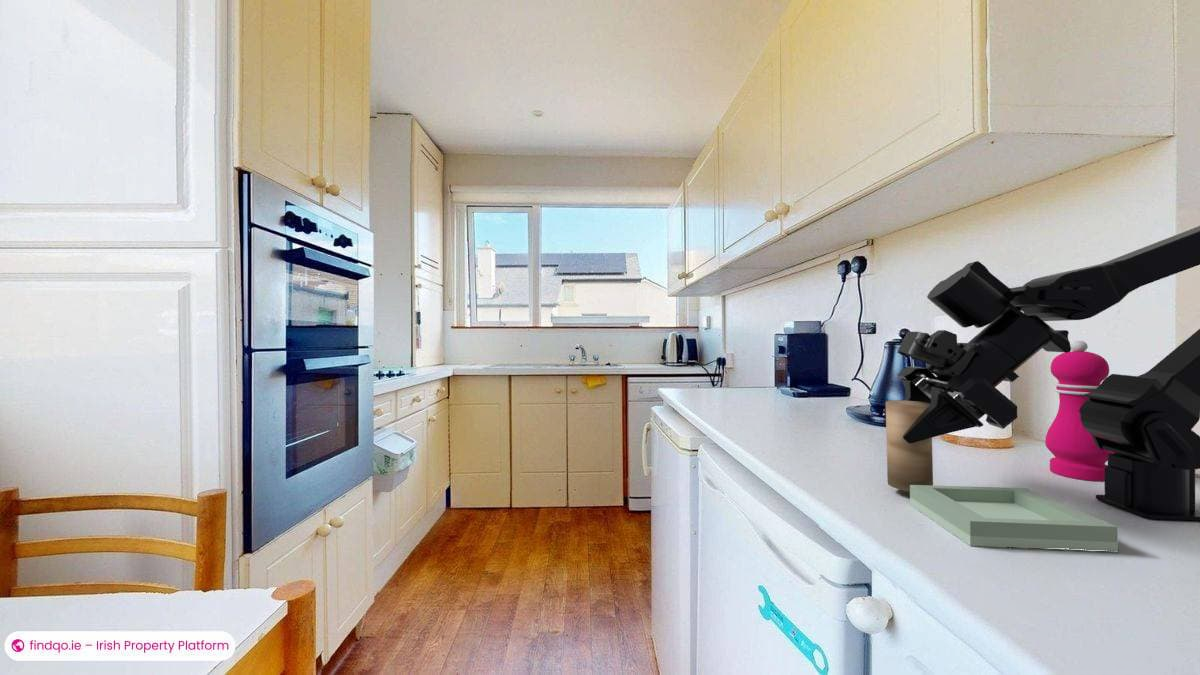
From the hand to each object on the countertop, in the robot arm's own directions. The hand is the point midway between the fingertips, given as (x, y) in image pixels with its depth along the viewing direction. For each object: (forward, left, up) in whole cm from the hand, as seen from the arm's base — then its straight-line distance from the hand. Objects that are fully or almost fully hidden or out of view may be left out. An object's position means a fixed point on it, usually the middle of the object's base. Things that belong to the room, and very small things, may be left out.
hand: (897, 435), depth 60 cm
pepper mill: (-30, -11, -8) cm, 33 cm away
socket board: (-6, +10, -8) cm, 14 cm away
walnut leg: (-1, 0, -7) cm, 7 cm away
